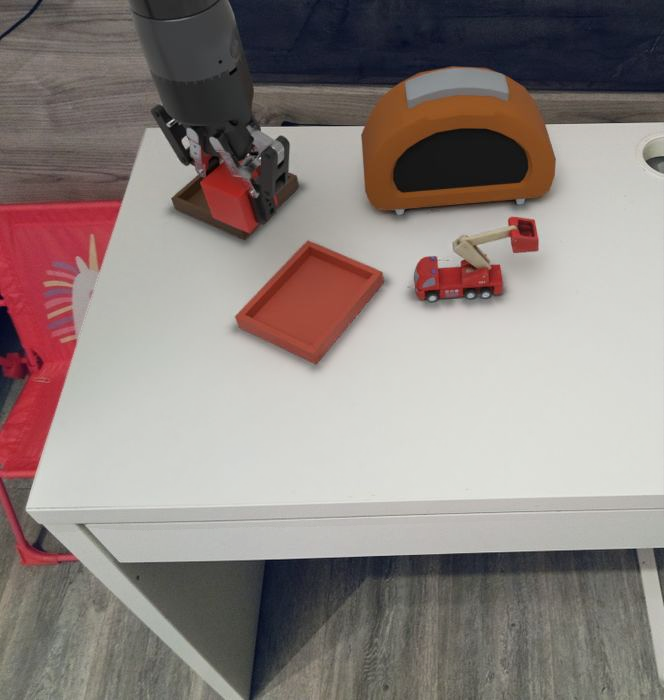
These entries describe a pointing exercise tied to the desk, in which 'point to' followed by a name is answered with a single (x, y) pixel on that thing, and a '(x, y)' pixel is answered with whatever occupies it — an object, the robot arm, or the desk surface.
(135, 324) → the desk surface
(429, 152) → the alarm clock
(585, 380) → the desk surface
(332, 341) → the red tray
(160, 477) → the desk surface
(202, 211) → the brown tray
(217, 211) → the red block
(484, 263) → the toy fire truck
